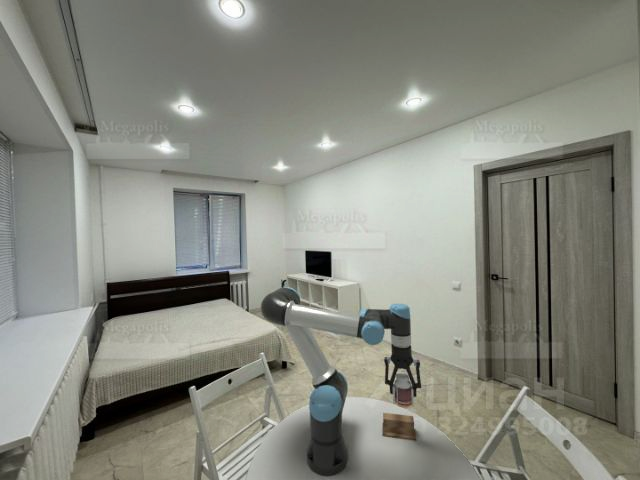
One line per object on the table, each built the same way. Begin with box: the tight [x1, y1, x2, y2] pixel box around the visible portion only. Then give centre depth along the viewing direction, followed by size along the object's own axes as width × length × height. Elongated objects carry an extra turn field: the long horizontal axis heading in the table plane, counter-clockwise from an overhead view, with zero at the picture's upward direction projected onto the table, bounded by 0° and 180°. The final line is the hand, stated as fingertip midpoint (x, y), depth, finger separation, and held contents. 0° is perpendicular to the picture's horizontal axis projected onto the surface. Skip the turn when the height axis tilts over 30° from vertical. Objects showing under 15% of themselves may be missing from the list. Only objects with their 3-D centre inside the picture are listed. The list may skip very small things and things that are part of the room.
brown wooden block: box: [381, 412, 417, 442], centre depth 108 cm, size 13×7×6 cm, turn 76°
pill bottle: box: [394, 372, 412, 409], centre depth 104 cm, size 6×6×11 cm
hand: (403, 403), depth 104 cm, fingers closed on pill bottle, 6 cm apart
